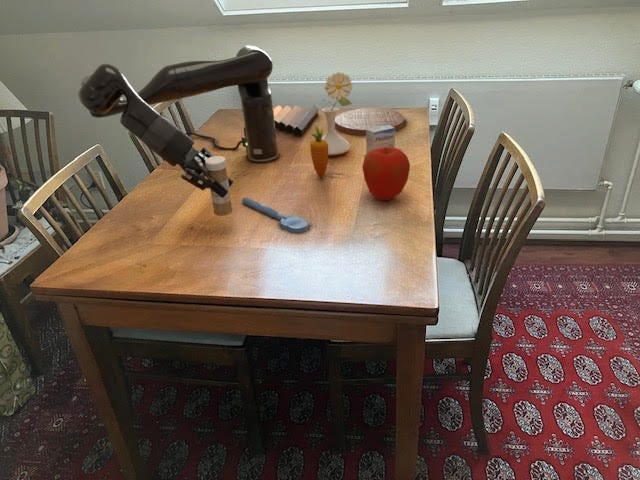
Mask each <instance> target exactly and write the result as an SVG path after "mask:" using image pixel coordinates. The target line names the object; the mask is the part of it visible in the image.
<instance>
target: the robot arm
mask: <svg viewBox="0 0 640 480" xmlns="http://www.w3.org/2000/svg"><path fill="white" fill-rule="evenodd" d="M273 67H274V66H273V61H272V59H271V57H270V56H269V55H268V54H267V53H266V52H265V51H264V50H262V49H260V48H258V47H256V46H252V45H246V46H243V47H242V48H240V49H239V50H238V52H237V53H236V55H235V57H230V58H227V59H221V60H190V61H183V62H178V63H174V64H169V65H165V66H164V67H162V68H161V69H159V70H158V71H157V72H156V73H155V75H154V76H153V77H152V78H151V79H150V80H149V81H148V83H147V84H146V85H144V87H142V89H140V90H139V91H138V92H137V91H136V90H135V89H134V88H133V86H132V85H131V83H130V82H129V80H128V78H126V76H125V75H124V74H123V72H122V71H121V70H120V69H119V68H117V67H116V66H115V65H113V64H109V63H102V64H100V65H98V66H97V68H96V69H95V70H94V71H93V73H91V74H89V75H86V76H85V77H83V78H82V80H81V81H80V82H81V83H80V85H81V87H80V88H79V90H78V91H77V96H78V99H79V102H80V103H81V104H82V106H83V107H84V108H86V109H87V110H88V111H89V114H90V116H91V117H93V118H96V119H102V118H107V117H112V116H117V115H119V114H121V115H120V118H119V122H120V124H121V125H122V126H123V127H124V128H125V129H126V130H128V131H129V132H130V133H131V134H132V135H134V136H135V137H136V138H137V139H138V140H140V141H141V142H142V143H143V144H144V145H145V146H146V147H147V148H148V149H150V150H151V151H152V152H153V153H154V154H156V155H157V156H159V157H160V158H161V159H162V160H164V161H165V162H166V163H167V164H168V165H170V166H171V167H176V166H179V167H180V168H181V170H182V171H183V173H182V174H181V175H180V178H181V179H182V180H184V181H185V182H187V183H189V184H190V185H192V186H194V187H196V188H198V189H199V190H201V191H205V190H206V189H207V190H209V189H211V190H212V191H214V192H215V193H216V194H217V195H219V196H220V197H222V198H223V197H224V196H225V195H226V194H227V193H228V190H227V189H226V188H225V187H224V186H222V185H221V184H220V183H219V182H217V181H215V180H214V179H213V177H212V176H211V175H210V174H209V170H208V169H207V168H206V165H205V161H206V159H208V158H210V157H214V156H215V155H213V154H212V153H211V152H210V151H209V149H207V148H206V147H202V148H201V150H199V149H197V148H196V147H193V145H194V144H195V140H194V139H193V138H191V137H190V136H189V135H193V136H195V137H198V138H203V139H208V140H212V141H214V142H213V143H214V147H216V148H218V149H219V150H225V151H235V150H238V149H239V147H240V145H242V147H244V148H245V150H246V151H245V152H246V157H247V158H248V160H249V161H250V162H253V163H268V162H272V161H274V160H276V159H278V158H279V151H278V141H277V132H276V131H277V130H276V128H275V121H274V111H273V107H274V102H273V94H272V92H271V89H270V86H269V82H268V78H269V77H270V75H271V74H272V72H273V69H274V68H273ZM235 86H237V90H238V94H239V97H240V100H241V107H242V116H243V123H244V127H243V136H241V140H239V141H238V142H237V144H236V146H235V147H224V146H221V145H218V144H217V143H218V142H217V139H216V138H214V137H211V136H208V135H204V134H199V133H195V132H193V131H188V132H187V131H186V132H184V131H183V130H182V129H181V128H179V127H178V126H177V125H176V124H174V123H173V122H172V121H171V120H169V119H168V118H166V117H164V116H163V115H162V114H160V113H159V112H158V111H157V110H155V109H154V108H153V107H152V105H156V104H161V103H166V102H167V103H168V102H172V101H177V100H183V99H186V98H190V97H195V96H198V95H203V94H207V93H210V92H214V91H217V90H221V89H224V88H229V87H235ZM124 98H125V99H124ZM227 177H228V182H229V188H230V187H231V186H232V185H233V184H234V180H233V179H232V178H231V177H229V176H228V175H227ZM211 190H210V191H211Z"/></svg>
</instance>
